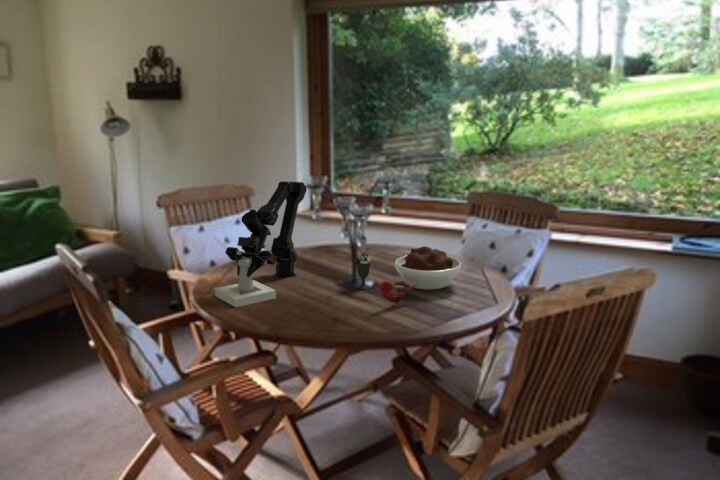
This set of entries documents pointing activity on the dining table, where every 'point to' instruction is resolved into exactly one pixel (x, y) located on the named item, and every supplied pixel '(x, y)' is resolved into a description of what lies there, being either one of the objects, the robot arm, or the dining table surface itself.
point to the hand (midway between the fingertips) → (242, 276)
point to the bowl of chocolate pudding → (427, 268)
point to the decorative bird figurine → (394, 292)
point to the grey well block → (236, 300)
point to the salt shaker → (244, 277)
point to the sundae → (363, 268)
